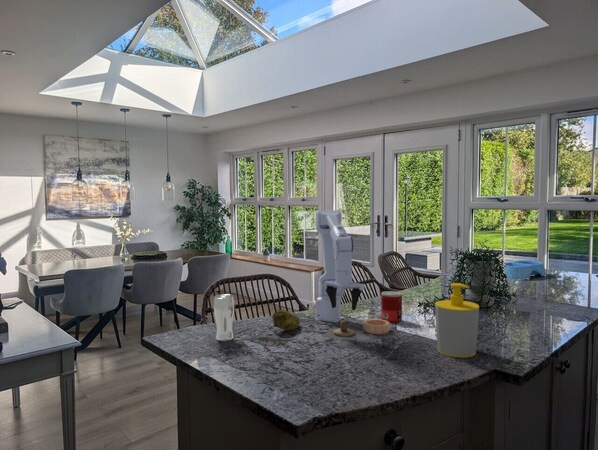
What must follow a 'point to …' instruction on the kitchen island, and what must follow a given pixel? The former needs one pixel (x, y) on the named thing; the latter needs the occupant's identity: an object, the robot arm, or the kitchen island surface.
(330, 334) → the mat
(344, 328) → the lid
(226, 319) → the beer glass
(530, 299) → the kitchen island surface
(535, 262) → the dog bowl
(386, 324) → the tan round bowl
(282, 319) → the potato
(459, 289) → the soap bottle
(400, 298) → the canned food
